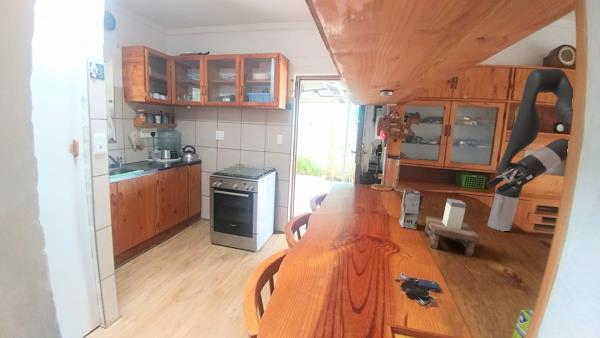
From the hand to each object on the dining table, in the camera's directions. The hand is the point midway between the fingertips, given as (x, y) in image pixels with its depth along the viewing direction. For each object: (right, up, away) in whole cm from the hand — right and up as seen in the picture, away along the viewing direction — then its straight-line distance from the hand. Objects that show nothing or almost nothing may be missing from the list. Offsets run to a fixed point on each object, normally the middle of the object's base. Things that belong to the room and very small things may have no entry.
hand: (493, 188), depth 97 cm
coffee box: (-22, -19, +24) cm, 38 cm away
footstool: (-13, -23, +7) cm, 28 cm away
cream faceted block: (-12, -15, +6) cm, 20 cm away
